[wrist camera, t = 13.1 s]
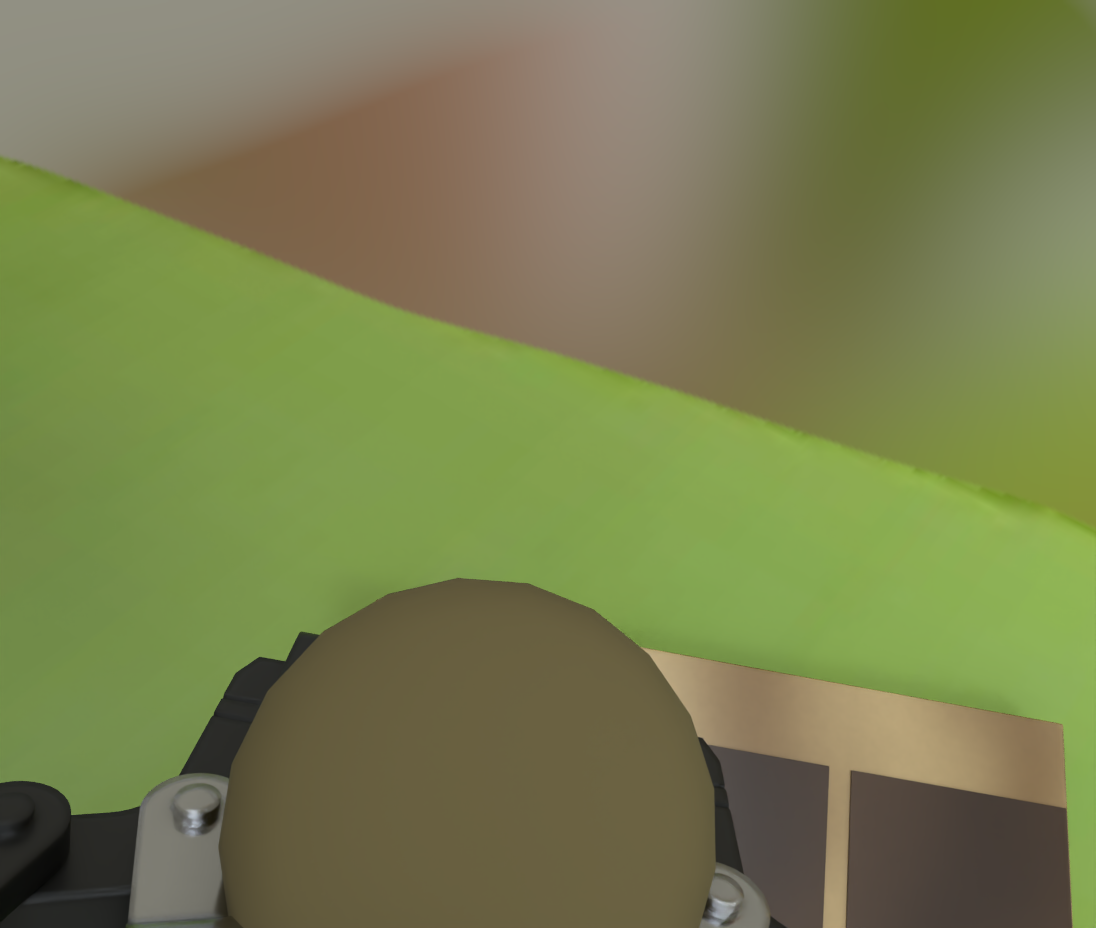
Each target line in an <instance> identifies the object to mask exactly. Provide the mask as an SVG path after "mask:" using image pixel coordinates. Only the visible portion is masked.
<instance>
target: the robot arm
mask: <svg viewBox="0 0 1096 928" xmlns="http://www.w3.org/2000/svg"><path fill="white" fill-rule="evenodd" d="M318 637H319V635H317V634H312V633H306V632H300V633H299V635H298V637H297V639H296V641H295V643H294V645H293V647H292V649H291V651H290V653H289V655H288V658H287V660H286V662H285V661H279V660H274V659H268V658H263V657H259V658H257V659H256V660H254V661H253V662H251V663H250V664H248V665H247V666H245V667H244V668H243V669H241V670H240V671H238V672H237V673H236V674H235V675H234V677H233V679H232V681H231V683H230V684H229V686H228V688H227V690H226V692H225V693H224V697H223V699H221V701H220V702H219V704H218V706H217V708H216V710H215V712H214V716H212V717H211V719H210V721H209V722H208V724H207V726H206V728H205V730H204V731H203V733H202V735H201V737H200V739H199V740H198V742H197V744H196V746H195V748H194V750H193V751H192V753H191V755H190V757H189V759H188V760H187V762H186V764H185V766H184V768H183V769H182V771H181V773H180V775H179V776H177V777H174V778H170V779H168V780H166V781H164V782H162V783H160V784H159V785H157V786H156V787H154V788H153V789H152V790H151V791H150V792H149V793H148V794H147V795H146V796H145V798H144V799H143V801H142V803H141V806H139V807H136V808H133V809H129V810H124V811H119V812H111V813H97V814H82V815H71V809H70V805H69V802H68V800H67V799H66V798H65V796H64V795H63V794H62V793H60V792H59V791H58V790H56V789H54V788H52V787H50V786H48V785H45V784H42V783H36V782H29V781H11V782H5V783H0V928H243V927H242V926H241V925H240V924H239V923H238V922H237V921H236V920H235V919H234V918H233V916H228V911H227V904H226V897H225V890H224V883H223V877H222V870H221V863H220V856H219V849H218V845H219V839H220V833H221V826H222V820H223V814H224V808H225V802H226V796H227V789H228V783H229V777H230V771H231V765H232V762H233V760H234V758H235V756H236V754H237V752H238V750H239V748H240V746H241V744H242V742H243V740H244V738H245V736H246V734H247V732H248V730H249V728H250V726H251V724H252V722H253V720H254V718H255V716H256V713H257V711H258V709H259V707H260V705H261V703H262V701H263V699H264V697H265V695H266V693H267V691H268V690H269V689H270V688H271V687H272V686H273V685H274V684H275V683H276V682H277V680H278V679H279V678H280V677H281V676H282V675H283V674H284V673H285V672H286V671H287V670H288V669H289V668H290V667H291V665H292V664H293V663H294V662H295V661H296V660H297V659H298V658H299V657H300V656H301V655H302V654H303V653H304V652H305V650H306V649H307V648H308V647H309V646H310V645H311V644H312V643H313V642H314V641H315V640H316V639H317V638H318ZM698 740H699V743H700V746H701V749H702V752H703V755H704V758H705V762H706V765H707V768H708V771H709V774H710V777H711V780H712V784H713V787H714V804H715V855H716V870H715V873H714V877H713V880H712V884H711V887H710V891H709V895H708V898H707V902H706V905H705V909H704V912H703V916H702V920H701V923H700V927H699V928H788V927H786V926H785V925H783V924H781V923H780V922H778V921H777V920H776V919H774V918H773V917H772V916H770V914H771V913H770V907H769V904H768V902H767V899H766V897H765V896H764V894H763V892H762V891H761V890H760V889H759V887H758V886H757V885H756V884H755V883H754V882H753V881H752V880H751V879H749V878H748V877H747V876H745V875H744V872H743V867H742V863H741V858H740V853H739V848H738V844H737V839H736V834H735V830H734V825H733V820H732V815H731V811H730V809H729V801H728V797H727V792H726V789H724V788H725V782H724V778H723V773H722V768H721V764H720V760H719V759H718V758H717V756H716V755H715V754H714V752H713V751H712V750H711V748H710V747H709V746H708V744H707V743H706V742H705V740H704V739H703V738H701V737H698Z"/></svg>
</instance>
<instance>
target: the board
mask: <svg viewBox="0 0 1096 928" xmlns="http://www.w3.org/2000/svg"><path fill="white" fill-rule="evenodd" d="M377 600H379V599H377ZM377 600H376V601H377ZM641 648H642V647H641ZM642 649H643V650H644V651H645V652H647V653H648V654H649V655H650V656H651V658H652V659H653V661H654V662H655V664H656V665H657V667H658V668H659V670H660V671H661V672H662V674H663V675H664V677H665V678H666V680H667V681H668V683H669V684H670V686H671V687H672V689H673V690H674V692H675V693H676V695H677V696H678V697H679V699H680V700H681V702H682V703H683V705H684V706H685V708H686V709H687V711H688V712H689V714H690V715H691V718H692V721H693V724H694V727H695V730H696V733H697V736H698V737H701V738H703V739H704V740H705V742H706V743H707V744H708V746H709V747H710V748H711V750H712V751H713V752H714V754H715V755H716V756H717V758H718V759H719V760H720V764H721V768H722V773H723V778H724V782H725V788H724V789H726V792H727V797H728V801H729V809H730V811H731V815H732V820H733V825H734V830H735V834H736V839H737V844H738V848H739V853H740V858H741V863H742V867H743V872H744V875H745V876H747V877H748V878H749V879H751V880H752V881H753V882H754V883H755V884H756V885H757V886H758V887H759V889H760V890H761V891H762V892H763V894H764V896H765V897H766V899H767V902H768V904H769V907H770V913H771V914H770V916H772V917H773V918H774V919H776V920H777V921H778V922H780V923H781V924H783V925H785V926H786V927H788V928H1073V921H1072V901H1071V881H1070V860H1069V840H1068V820H1067V800H1066V779H1065V759H1064V739H1063V725H1062V724H1059V723H1054V722H1048V721H1043V720H1037V719H1032V718H1026V717H1021V716H1015V715H1010V714H1004V713H999V712H993V711H988V710H982V709H977V708H971V707H966V706H960V705H955V704H949V703H944V702H939V701H933V700H928V699H922V698H917V697H911V696H906V695H900V694H895V693H889V692H884V691H878V690H873V689H867V688H862V687H856V686H851V685H845V684H840V683H834V682H829V681H823V680H818V679H812V678H807V677H801V676H796V675H790V674H785V673H780V672H774V671H769V670H763V669H758V668H752V667H747V666H741V665H736V664H730V663H725V662H719V661H714V660H708V659H703V658H697V657H692V656H686V655H681V654H675V653H670V652H664V651H659V650H653V649H648V648H642Z"/></svg>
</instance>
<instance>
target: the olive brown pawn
mask: <svg viewBox="0 0 1096 928" xmlns="http://www.w3.org/2000/svg"><path fill="white" fill-rule="evenodd" d="M218 849H219V856H220V863H221V870H222V877H223V883H224V890H225V897H226V904H227V911H228V916H233V918H234V919H235V920H236V921H237V922H238V923H239V924H240V925H241V926H242V927H243V928H699V927H700V923H701V920H702V916H703V912H704V909H705V905H706V902H707V898H708V895H709V891H710V887H711V884H712V880H713V877H714V873H715V870H716V855H715V804H714V787H713V784H712V780H711V777H710V774H709V771H708V768H707V765H706V762H705V758H704V755H703V752H702V749H701V746H700V743H699V740H698V736H697V733H696V730H695V727H694V724H693V721H692V718H691V715H690V714H689V712H688V711H687V709H686V708H685V706H684V705H683V703H682V702H681V700H680V699H679V697H678V696H677V695H676V693H675V692H674V690H673V689H672V687H671V686H670V684H669V683H668V681H667V680H666V678H665V677H664V675H663V674H662V672H661V671H660V670H659V668H658V667H657V665H656V664H655V662H654V661H653V659H652V658H651V656H650V655H649V654H648V653H647V652H645V651H644V650H643V649H642V648H641V647H639V646H638V645H637V644H636V643H634V642H633V641H632V640H631V639H629V638H628V637H627V636H626V635H624V634H623V633H622V632H621V631H619V630H618V629H617V628H616V627H615V626H613V625H612V624H611V623H610V622H608V621H607V620H606V619H605V618H603V617H602V616H601V615H600V614H598V613H597V612H596V611H595V610H593V609H591V608H588V607H586V606H583V605H581V604H578V603H576V602H573V601H571V600H568V599H566V598H563V597H561V596H558V595H556V594H553V593H551V592H548V591H546V590H543V589H541V588H538V587H536V586H533V585H531V584H528V583H515V582H502V581H489V580H476V579H463V578H456V579H452V580H448V581H443V582H439V583H434V584H430V585H426V586H421V587H417V588H413V589H408V590H404V591H400V592H395V593H391V594H387V595H386V596H384V597H382V598H381V599H379V600H377V601H375V602H374V603H372V604H370V605H368V606H367V607H365V608H363V609H362V610H360V611H358V612H356V613H355V614H353V615H351V616H349V617H348V618H346V619H344V620H342V621H341V622H339V623H337V624H336V625H334V626H332V627H330V628H329V629H327V630H325V631H324V632H323V633H321V634H320V635H319V637H318V638H317V639H316V640H315V641H314V642H313V643H312V644H311V645H310V646H309V647H308V648H307V649H306V650H305V652H304V653H303V654H302V655H301V656H300V657H299V658H298V659H297V660H296V661H295V662H294V663H293V664H292V665H291V667H290V668H289V669H288V670H287V671H286V672H285V673H284V674H283V675H282V676H281V677H280V678H279V679H278V680H277V682H276V683H275V684H274V685H273V686H272V687H271V688H270V689H269V690H268V691H267V693H266V695H265V697H264V699H263V701H262V703H261V705H260V707H259V709H258V711H257V713H256V716H255V718H254V720H253V722H252V724H251V726H250V728H249V730H248V732H247V734H246V736H245V738H244V740H243V742H242V744H241V746H240V748H239V750H238V752H237V754H236V756H235V758H234V760H233V762H232V765H231V771H230V777H229V783H228V789H227V796H226V802H225V808H224V814H223V820H222V826H221V833H220V839H219V845H218Z"/></svg>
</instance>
